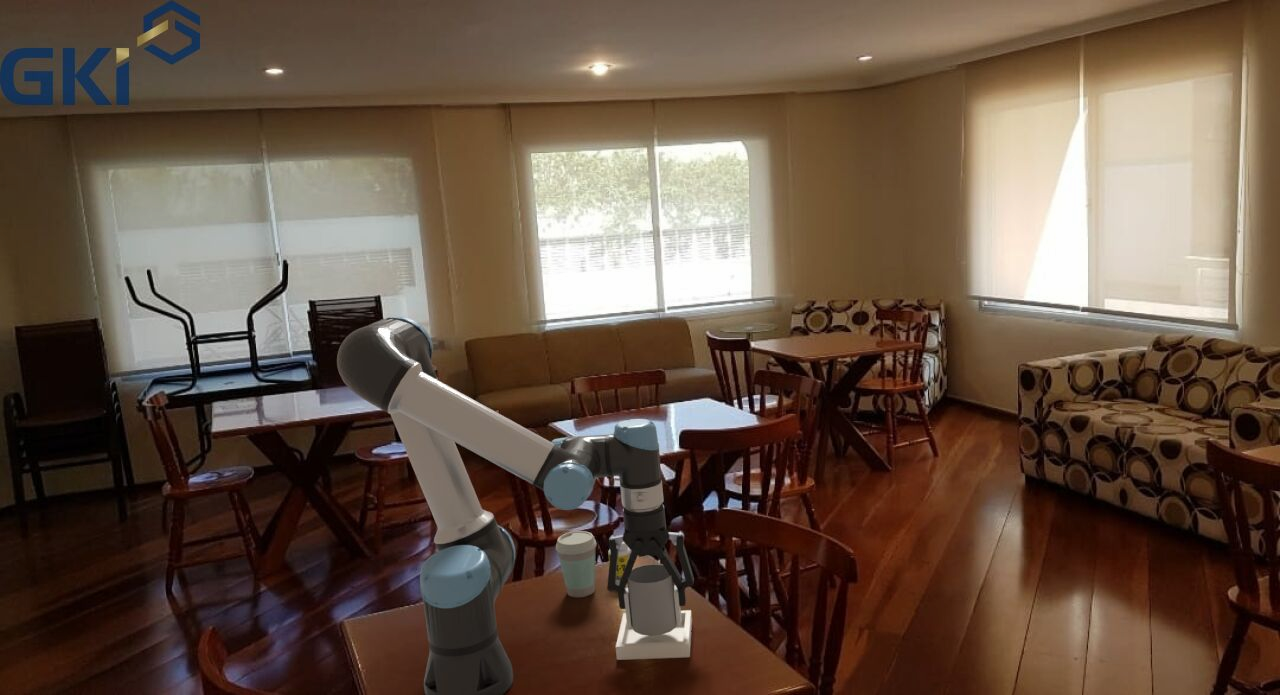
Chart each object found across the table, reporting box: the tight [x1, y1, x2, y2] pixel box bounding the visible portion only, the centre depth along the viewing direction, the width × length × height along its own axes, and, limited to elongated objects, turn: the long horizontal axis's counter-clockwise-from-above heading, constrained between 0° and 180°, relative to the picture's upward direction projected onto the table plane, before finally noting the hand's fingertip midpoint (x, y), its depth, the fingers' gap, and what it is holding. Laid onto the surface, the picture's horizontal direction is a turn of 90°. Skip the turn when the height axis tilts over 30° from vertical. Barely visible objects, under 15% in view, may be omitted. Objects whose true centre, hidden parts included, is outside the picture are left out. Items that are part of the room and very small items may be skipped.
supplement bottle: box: [607, 542, 631, 582], centre depth 195 cm, size 5×5×8 cm
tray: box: [615, 609, 693, 661], centre depth 167 cm, size 13×13×2 cm
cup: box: [626, 563, 677, 636], centre depth 165 cm, size 8×8×10 cm
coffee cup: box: [555, 530, 598, 598], centre depth 190 cm, size 8×8×12 cm
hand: (654, 622), depth 166 cm, fingers closed on cup, 8 cm apart
